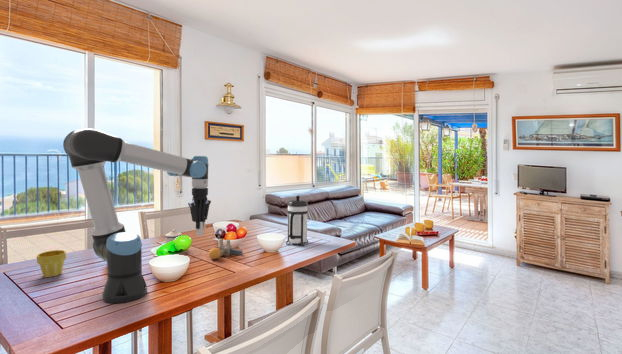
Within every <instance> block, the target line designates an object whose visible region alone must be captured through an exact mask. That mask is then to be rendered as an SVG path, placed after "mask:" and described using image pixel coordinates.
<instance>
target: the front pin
mask: <svg viewBox="0 0 622 354" xmlns="http://www.w3.org/2000/svg"><path fill="white" fill-rule="evenodd" d="M230 248H232V245H231V244H230ZM223 255H225V248H224V249H222V250H221V255H220V257H223ZM220 257H219V258H220Z"/></svg>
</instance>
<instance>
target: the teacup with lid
mask: <svg viewBox="0 0 622 354" xmlns="http://www.w3.org/2000/svg"><path fill="white" fill-rule="evenodd" d="M181 235H182V236H183V233H182V232H179V231H176V229H172V230H171V231H169V232H168V233H166V234H165V235H164V238H165V244H166V243H168V242H170V241H173V240H174V239H175V238H176V237H178V236H181Z"/></svg>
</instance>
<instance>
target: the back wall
mask: <svg viewBox="0 0 622 354" xmlns="http://www.w3.org/2000/svg"><path fill="white" fill-rule="evenodd" d="M224 248H225V246H223V249H224ZM230 255H235V256H243V250H242V249H237V248H232V247H231V248H230Z"/></svg>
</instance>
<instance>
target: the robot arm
mask: <svg viewBox="0 0 622 354" xmlns="http://www.w3.org/2000/svg"><path fill="white" fill-rule="evenodd" d="M62 143H63V145H62V146H63V147H62V148H63V150H64V152H65V154H66V155H67V156H68V158H69V161H70V164H71V168H73V169H75V170H76V171H77V173H78V176H79V179H80V183H81V187H82V189H83V193H84V196H85V199H86V203H87V207H88V210H89V213H90V217H91V220H92V224H93V227H94V229H93V231H91V237H92V250H93V251H94V253H95V255H96V256H97V257H98V258H100V259H101V260H103V261H105V262H106V268H107V270H106V271H107V279H106V282H105V284H104V288H103V291H102V300H103V302H105V303H109V304H124V303H130V302H133V301H136V300H139V299H141V298H143V297H144V296H145V295H146V294H147V293H148V286H147V283H146V281H145V280H146V279H145V277H144V275H143V271H142V270H143V269H142V268H143V267H142V266H143V265H142V264H143V263H142V262H143V261H142V255H143V253H142V246H143V244H142V238H141V236H140V235H139V234H137V233H134V232H127V231H126V229H125V225H124V224H123V223H121V222H119V218H118V215H117V211H116V208H115V204H114V200H113V197H112V194H111V189H110V185H109V182H108V178H107V174H106V171H105V168H104V165H106V162H111V163H117V162H121V163H127V164H132V165H135V166H141V167H145V168H149V169H153V170H157V171H158V170H159V171H162V172H166V174H167V175H168V176H170V177H186V178H191V195H192V199H191V200H192V201H190V202H188V203H187V204H188V206H189V207H188V208H189V209H190V215H191V221H192V222H194V223H195V229H196V236H199V237H201V236H203V235H204V225H205V222H206V221H207V220H208V215H209V211H210V205H211V203H212V200H210V199H208V195H209V188H208V187H209V158H208V157H207V156H205V155H193V156H192V157H191V159H190V158H186V157H183V156H179V155H176V154H171V153H167V152H164V151H160V150H157V149H152V148H150V147H146V146H142V145H139V144H134V143H130V142H128V141H125V140H124V139H123V138H122V137H119V136H115V135H112V134H110V133H106V132H104V131H101V130H99V129H95V128H84V129H83V128H82V129H81V128H80V129H74V130H71V131H70V132H69V133H68V134H67V135H66V136H64V139H63V142H62Z"/></svg>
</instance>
